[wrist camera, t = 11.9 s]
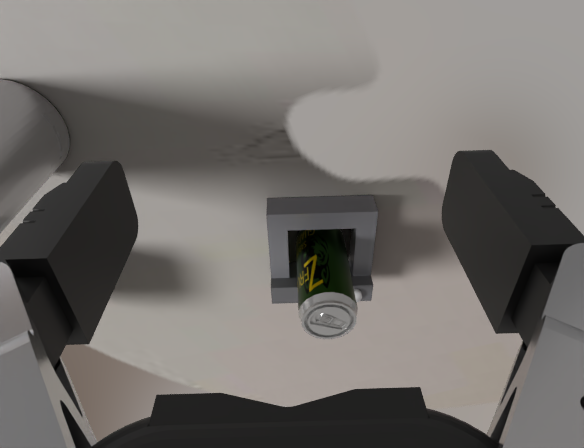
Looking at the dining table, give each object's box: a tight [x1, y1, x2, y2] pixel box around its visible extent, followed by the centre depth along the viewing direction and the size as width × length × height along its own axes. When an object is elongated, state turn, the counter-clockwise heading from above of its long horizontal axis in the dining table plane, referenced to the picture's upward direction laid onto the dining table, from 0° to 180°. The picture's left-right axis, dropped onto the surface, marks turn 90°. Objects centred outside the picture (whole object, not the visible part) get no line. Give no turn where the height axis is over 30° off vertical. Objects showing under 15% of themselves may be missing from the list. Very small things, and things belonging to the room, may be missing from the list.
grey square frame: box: [266, 195, 378, 304], centre depth 45 cm, size 11×11×5 cm
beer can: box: [296, 229, 357, 339], centre depth 43 cm, size 5×5×12 cm
